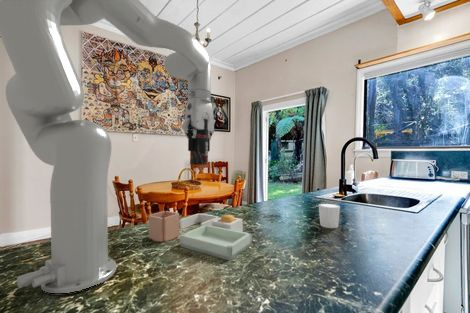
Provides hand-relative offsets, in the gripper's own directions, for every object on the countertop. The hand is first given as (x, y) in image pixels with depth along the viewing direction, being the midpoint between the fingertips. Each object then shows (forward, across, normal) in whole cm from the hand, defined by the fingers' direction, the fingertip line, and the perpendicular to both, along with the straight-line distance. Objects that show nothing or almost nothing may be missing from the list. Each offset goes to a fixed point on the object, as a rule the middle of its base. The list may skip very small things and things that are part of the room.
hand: (199, 150), depth 77 cm
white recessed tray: (+26, +1, -5) cm, 26 cm away
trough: (+26, -9, -14) cm, 31 cm away
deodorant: (+5, 0, 0) cm, 5 cm away
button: (+25, +1, -11) cm, 27 cm away
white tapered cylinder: (+26, +25, -37) cm, 51 cm away
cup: (+26, -12, +3) cm, 29 cm away
